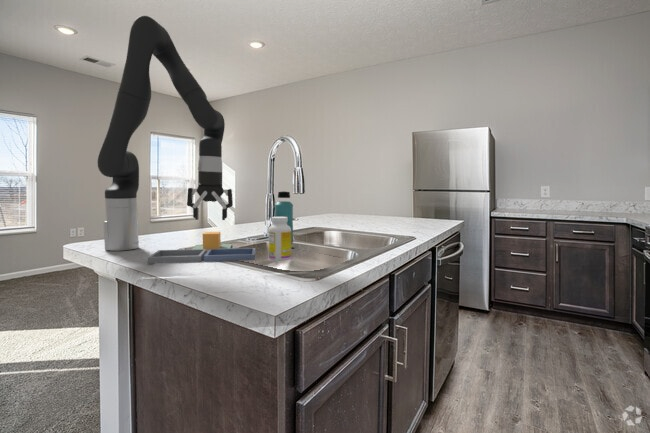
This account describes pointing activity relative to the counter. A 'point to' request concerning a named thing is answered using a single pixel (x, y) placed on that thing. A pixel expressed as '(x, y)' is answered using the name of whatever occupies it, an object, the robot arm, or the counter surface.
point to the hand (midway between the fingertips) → (210, 219)
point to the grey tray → (177, 256)
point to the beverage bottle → (285, 210)
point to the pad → (223, 246)
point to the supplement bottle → (279, 239)
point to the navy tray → (230, 254)
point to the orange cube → (211, 240)
